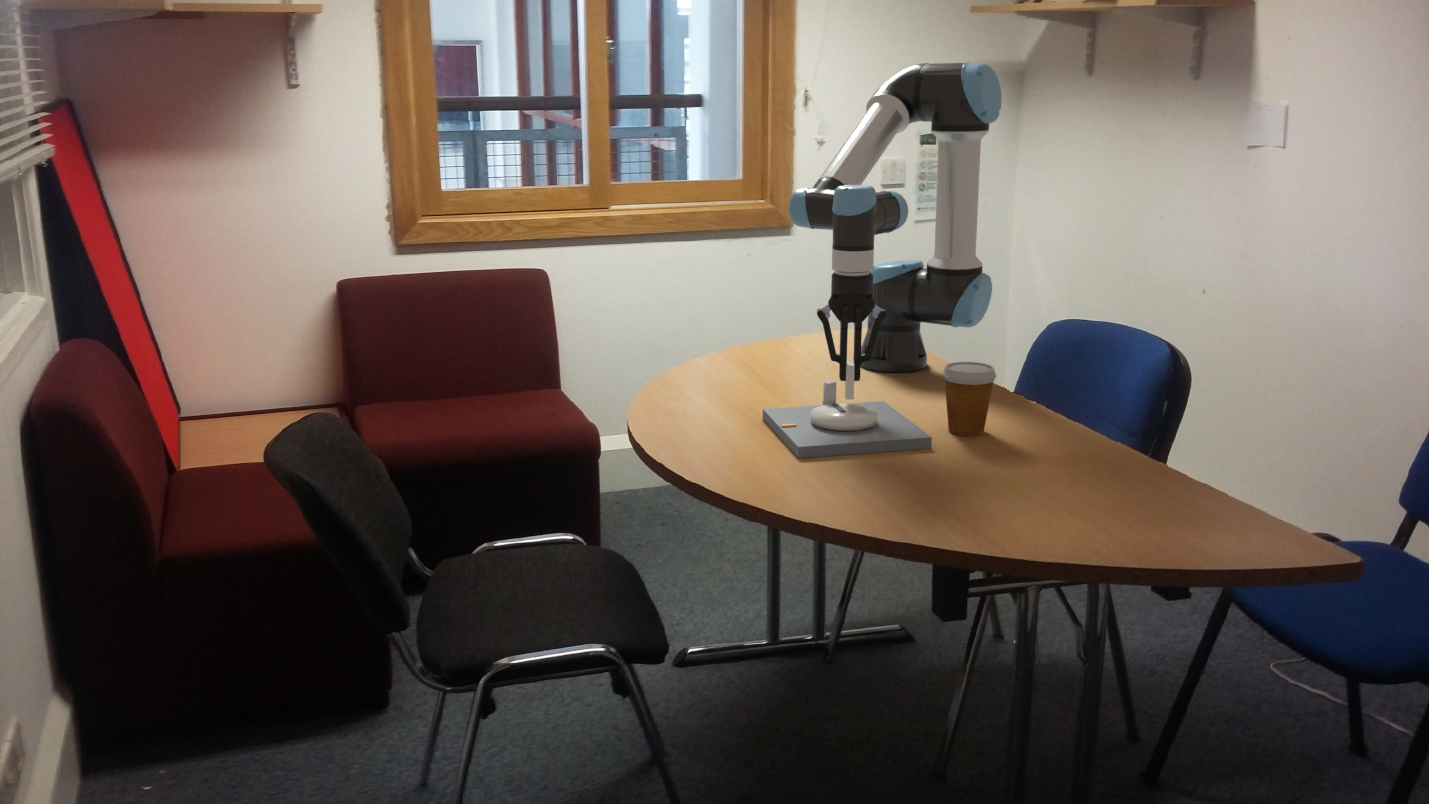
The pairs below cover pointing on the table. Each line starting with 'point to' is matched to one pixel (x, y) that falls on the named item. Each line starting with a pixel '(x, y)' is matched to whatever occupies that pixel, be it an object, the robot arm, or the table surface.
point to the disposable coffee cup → (968, 396)
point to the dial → (841, 413)
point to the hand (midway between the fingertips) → (849, 397)
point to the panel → (845, 432)
